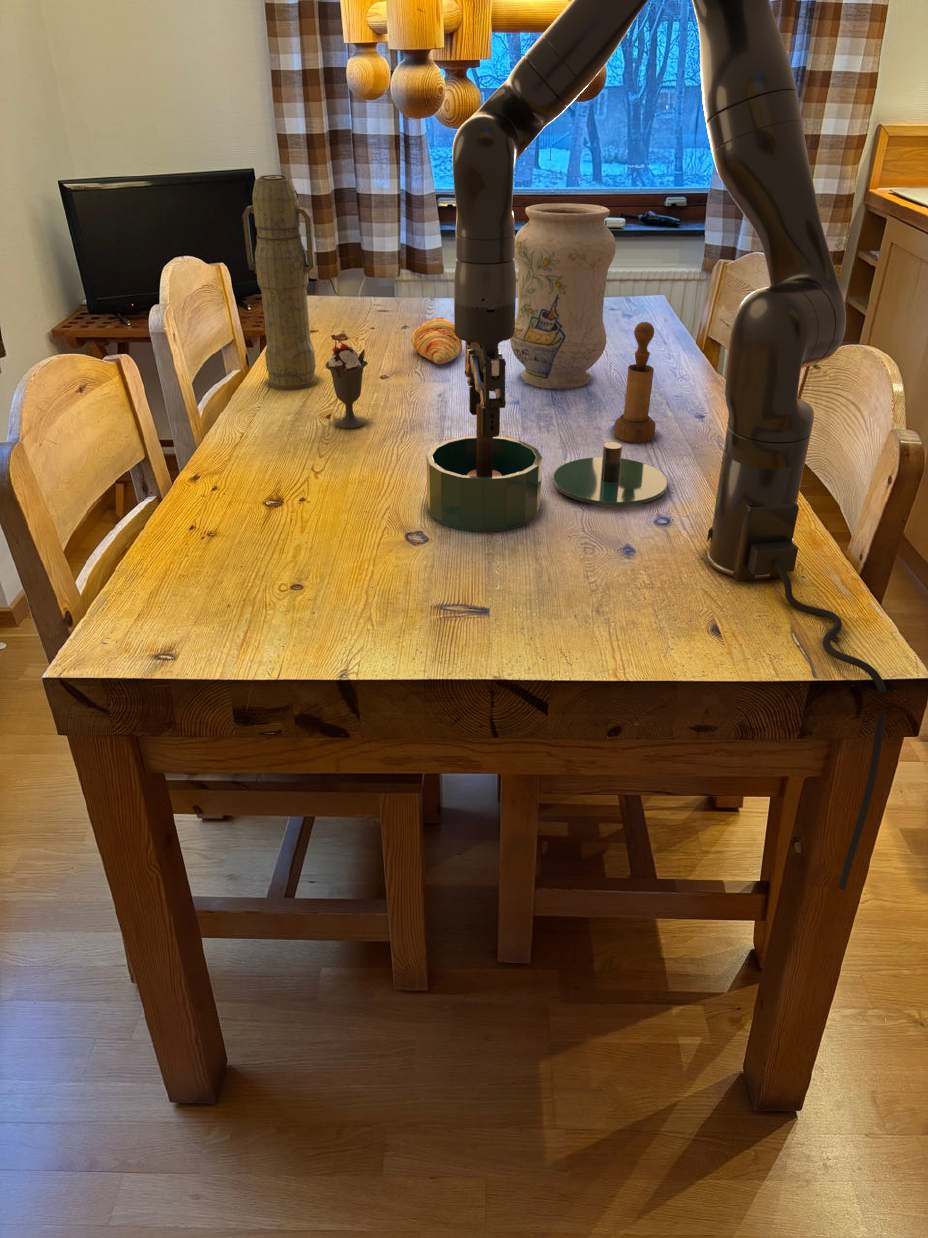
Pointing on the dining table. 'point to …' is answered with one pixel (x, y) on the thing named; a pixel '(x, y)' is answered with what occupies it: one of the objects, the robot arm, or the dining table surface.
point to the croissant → (437, 340)
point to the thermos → (283, 279)
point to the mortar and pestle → (638, 393)
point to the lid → (610, 479)
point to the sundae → (347, 381)
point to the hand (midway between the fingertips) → (484, 424)
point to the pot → (484, 485)
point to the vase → (561, 292)
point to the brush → (483, 451)
